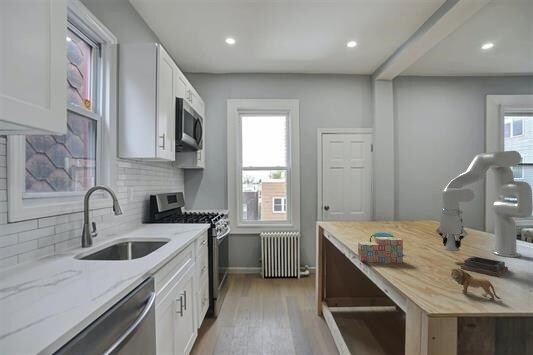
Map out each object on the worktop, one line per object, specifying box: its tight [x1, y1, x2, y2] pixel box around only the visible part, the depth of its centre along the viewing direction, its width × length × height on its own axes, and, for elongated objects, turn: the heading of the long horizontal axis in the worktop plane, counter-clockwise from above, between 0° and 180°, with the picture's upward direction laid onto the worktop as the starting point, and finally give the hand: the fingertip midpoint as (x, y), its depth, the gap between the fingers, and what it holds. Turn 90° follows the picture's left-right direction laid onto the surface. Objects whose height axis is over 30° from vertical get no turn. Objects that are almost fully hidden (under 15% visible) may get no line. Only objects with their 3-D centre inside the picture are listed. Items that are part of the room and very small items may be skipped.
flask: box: [443, 234, 461, 252], centre depth 146 cm, size 7×7×10 cm
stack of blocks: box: [357, 236, 404, 264], centre depth 146 cm, size 21×6×12 cm, turn 85°
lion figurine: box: [450, 267, 501, 302], centre depth 102 cm, size 15×5×9 cm, turn 52°
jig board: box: [460, 255, 509, 278], centre depth 132 cm, size 16×14×4 cm
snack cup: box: [369, 232, 397, 242], centre depth 167 cm, size 16×11×10 cm
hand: (451, 246), depth 146 cm, fingers closed on flask, 5 cm apart
